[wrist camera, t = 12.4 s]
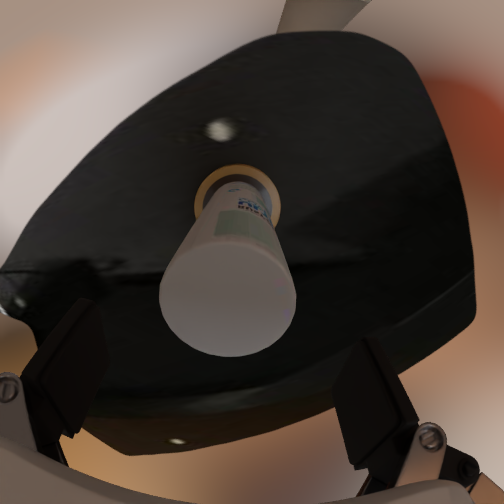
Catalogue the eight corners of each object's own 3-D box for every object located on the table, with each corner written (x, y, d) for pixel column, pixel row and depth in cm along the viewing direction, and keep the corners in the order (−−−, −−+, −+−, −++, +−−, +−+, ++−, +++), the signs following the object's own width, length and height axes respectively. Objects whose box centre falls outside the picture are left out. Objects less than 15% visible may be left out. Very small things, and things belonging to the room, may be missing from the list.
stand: (203, 158, 31) (199, 159, 29) (285, 171, 32) (288, 173, 29) (193, 235, 35) (190, 243, 32) (270, 246, 36) (272, 254, 33)
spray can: (197, 205, 31) (132, 298, 12) (240, 168, 29) (232, 208, 11) (234, 245, 33) (223, 374, 14) (277, 211, 31) (323, 312, 13)
